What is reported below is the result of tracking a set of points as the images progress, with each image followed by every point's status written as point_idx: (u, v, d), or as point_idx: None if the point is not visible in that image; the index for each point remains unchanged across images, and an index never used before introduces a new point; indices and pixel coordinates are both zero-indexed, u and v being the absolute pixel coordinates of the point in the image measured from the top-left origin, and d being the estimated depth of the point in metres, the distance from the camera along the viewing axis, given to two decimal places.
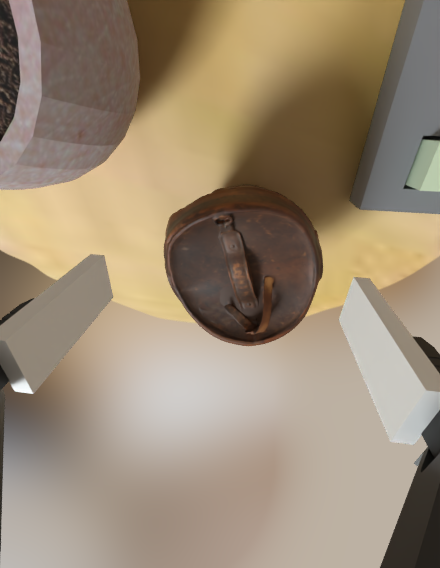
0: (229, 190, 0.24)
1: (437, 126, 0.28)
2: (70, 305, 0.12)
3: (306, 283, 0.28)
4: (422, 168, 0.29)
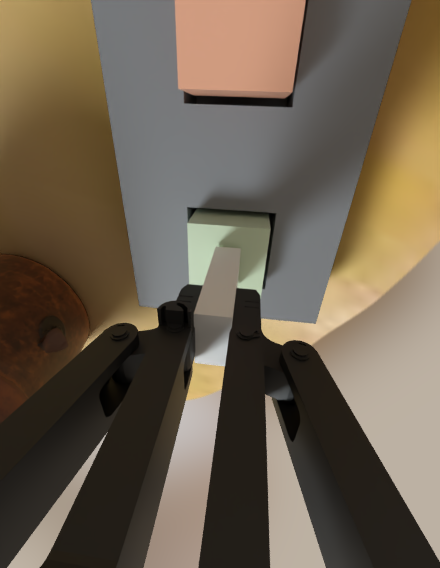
0: None
1: (204, 194, 0.16)
2: None
3: None
4: None
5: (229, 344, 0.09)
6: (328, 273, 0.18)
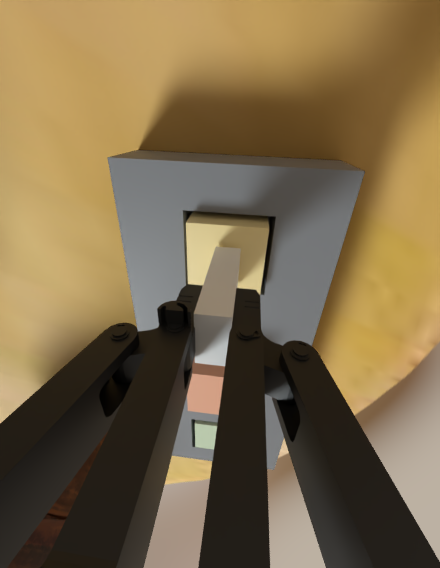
0: None
1: (201, 415, 0.27)
2: None
3: None
4: None
5: (229, 344, 0.09)
6: (278, 450, 0.29)
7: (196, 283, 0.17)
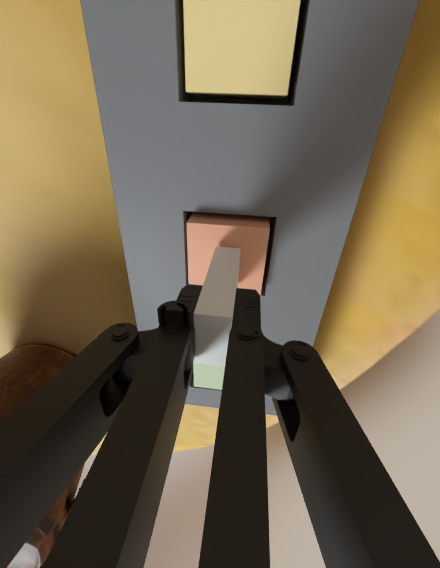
0: None
1: None
2: None
3: None
4: None
5: (229, 344, 0.09)
6: None
7: (197, 73, 0.12)
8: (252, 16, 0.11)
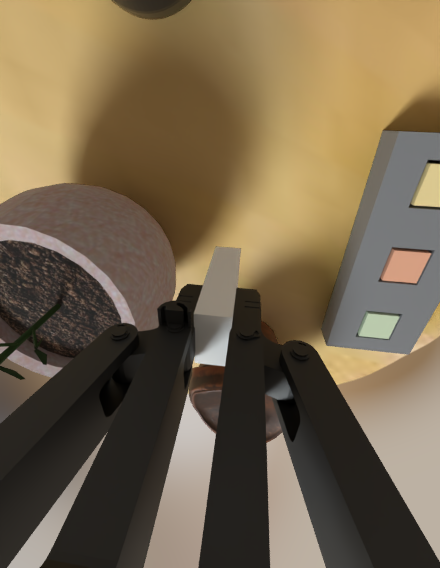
0: None
1: (375, 307, 0.41)
2: None
3: None
4: None
5: (229, 344, 0.09)
6: (419, 335, 0.43)
7: (420, 200, 0.33)
8: None
